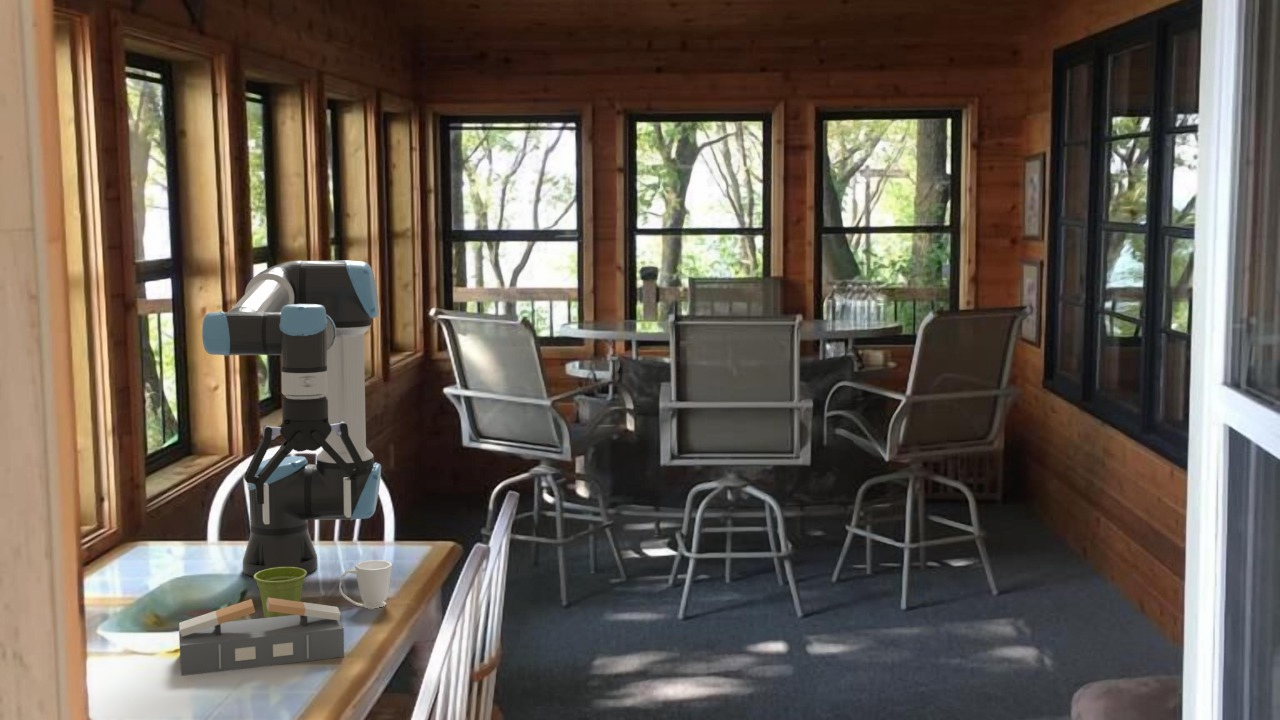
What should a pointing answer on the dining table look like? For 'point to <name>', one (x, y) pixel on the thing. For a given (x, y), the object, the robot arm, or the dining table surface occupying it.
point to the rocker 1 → (216, 617)
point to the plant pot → (280, 586)
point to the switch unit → (260, 643)
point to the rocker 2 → (303, 608)
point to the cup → (371, 582)
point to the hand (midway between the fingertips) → (307, 519)
